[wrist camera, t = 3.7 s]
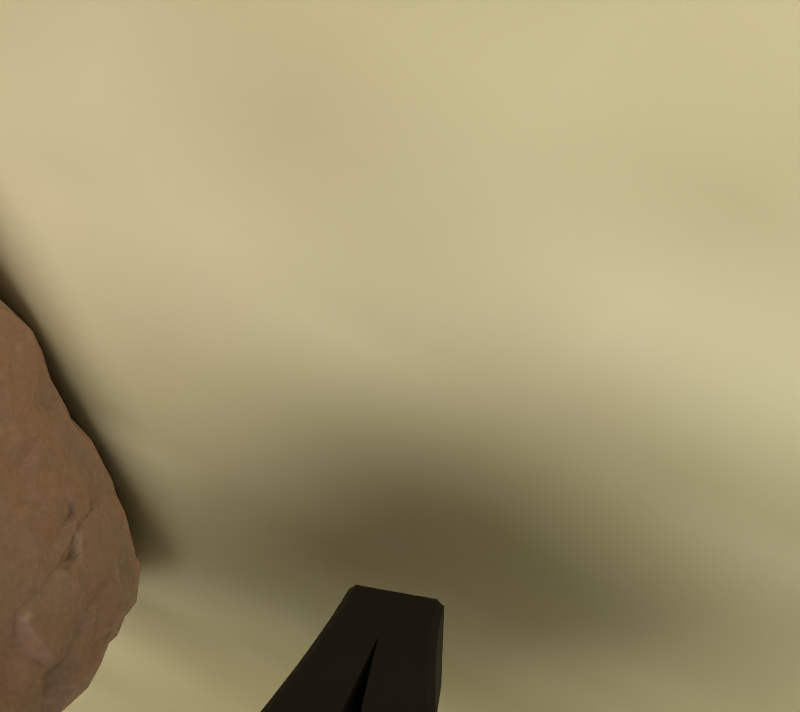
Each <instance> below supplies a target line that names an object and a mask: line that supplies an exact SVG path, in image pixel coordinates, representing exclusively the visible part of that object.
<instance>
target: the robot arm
mask: <svg viewBox="0 0 800 712" xmlns="http://www.w3.org/2000/svg"><path fill="white" fill-rule="evenodd" d="M443 620H444V606H443V605H442V604H441V603H440V602H439V601H438V600H437V599H432V598H426V597H421V596H415V595H409V594H404V593H398V592H393V591H387V590H381V589H376V588H370V587H365V586H359V585H355V586H354V587H352V588H350V589H349V590H348V592H347V594H346V595H345V597H344V598H343V600H342V602H341V603H340V605H339V606H338V608H337V609H336V611H335V612H334V614H333V616H332V617H331V619H330V620H329V622H328V623H327V624H326V626H325V627H324V629H323V630H322V632H321V633H320V635H319V636H318V637H317V639H316V640H315V642H314V643H313V644H312V646H311V647H310V649H309V650H308V651H307V653H306V654H305V655H304V657H303V658H302V659H301V661H300V662H299V664H298V665H297V666H296V667H295V669H294V670H293V671H292V673H291V674H290V675H289V676H288V678H287V679H286V680H285V682H284V683H283V684H282V685H281V687H280V688H279V689H278V690H277V692H276V693H275V694H274V696H273V697H272V698H271V699H270V701H269V702H268V703H267V704H266V706H265V707H264V708H263V709H262V711H261V712H437V710H438V703H439V696H440V689H441V676H442V648H443Z"/></svg>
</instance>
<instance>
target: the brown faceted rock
mask: <svg viewBox="0 0 800 712" xmlns="http://www.w3.org/2000/svg"><path fill="white" fill-rule="evenodd" d="M140 567H141V564H140V562H139V560H138V559H137V557H136V555H135V550H134V546H133V542H132V538H131V534H130V529H129V525H128V521H127V517H126V514H125V512H124V510H123V507H122V505H121V503H120V501H119V499H118V497H117V495H116V492H115V488H114V485H113V481H112V479H111V477H110V475H109V473H108V471H107V469H106V468H105V466H104V464H103V462H102V460H101V458H100V456H99V454H98V452H97V450H96V448H95V446H94V444H93V442H92V440H91V439H90V438H89V437H88V436H87V435H86V434H85V433H84V432H83V430H82V429H81V428H80V427H79V426H78V425H77V424H76V423H75V422H74V421H73V420H72V419H71V417H70V415H69V412H68V410H67V407H66V405H65V404H64V402H63V400H62V398H61V397H60V395H59V393H58V391H57V389H56V388H55V386H54V384H53V382H52V381H51V379H50V376H49V373H48V369H47V366H46V362H45V359H44V355H43V352H42V350H41V348H40V346H39V344H38V341H37V339H36V337H35V335H34V333H33V331H32V330H31V329H30V328H29V327H28V326H27V325H26V324H25V323H24V322H23V321H22V320H21V319H20V318H19V317H18V316H17V315H16V314H15V313H14V312H13V311H12V310H11V309H10V308H9V307H8V306H7V305H5V304H4V303H3V302H2V301H1V300H0V712H62V711H63V710H64V709H65V708H66V707H67V706H68V705H69V704H71V703H72V702H73V701H74V700H75V699H76V698H77V697H78V696H79V695H80V694H81V693H82V692H84V691H85V690H86V689H87V688H88V686H89V684H90V682H91V681H92V679H93V677H94V675H95V673H96V672H97V670H98V668H99V666H100V664H101V662H102V659H103V657H104V654H105V651H106V649H107V646H108V643H109V642H110V641H112V640H113V639H114V638H115V637H116V636H117V634H118V632H119V629H120V627H121V624H122V622H123V620H124V617H125V616H126V614H127V613H128V612H129V611H130V609H131V608H132V607H133V605H134V604H135V603H136V599H137V591H138V583H139V575H140Z"/></svg>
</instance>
